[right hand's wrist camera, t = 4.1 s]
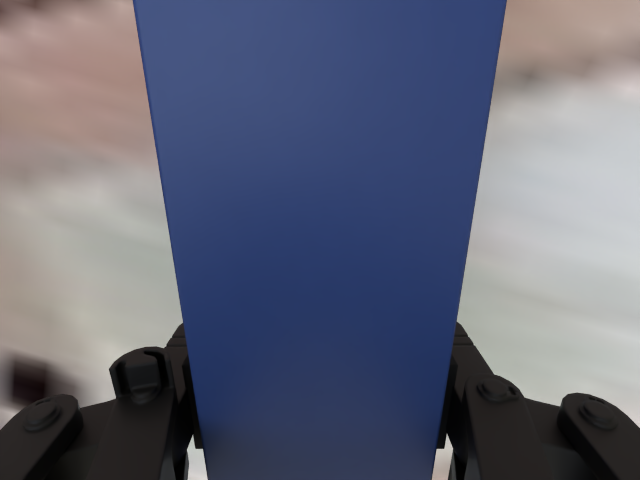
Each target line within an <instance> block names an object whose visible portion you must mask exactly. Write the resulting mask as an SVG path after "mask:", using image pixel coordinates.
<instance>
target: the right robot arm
mask: <svg viewBox="0 0 640 480" xmlns="http://www.w3.org/2000/svg"><path fill="white" fill-rule="evenodd" d="M109 371H110V375H111V379H112V383H113V387H114V391H115V395H116V399H114V400H111V401H107V402H104V403H99V404H95V405H91V406H87V407H82V408H80V407H79V404H78V400H77V399H76V398H74V397H73V396H71V395H65V394H61V395H54V396H49V397H47V398H44V399H41V400H38V401H36V402H34V403H32V404H31V405H29V406H27V407H25V408H24V409H22V410H21V411H20V412H19V413H18V414H16V415H15V416H14V417H13V418H12V419H11V420H10V421H9V422H8V423H7V424H6V425H5V426H4V427H3V428H2V429H1V430H0V480H187V479H188V469H189V460H188V453H187V448H188V445H189V443H190V440H191V438H192V435H193V436H194V442H195V448H196V449H203V445H202V439H201V432H200V426H199V420H198V413H197V407H196V401H195V394H194V388H193V381H192V375H191V369H190V362H189V356H188V350H187V343H186V337H185V330H184V324H183V323H182V324H181V325H179V327H178V328H177V330H176V331H175V333H174V334H173V336H172V338H171V339H170V340H169V342H168V343H167V346H166V347H165V348H160V347H144V348H140V349H136V350H133V351H131V352H129V353H126V354H124V355H123V356H121V357H120V358H119V359H117V360H116V361H115V362H114V363H113V364H112V366H111V367H110V368H109ZM447 434H448V437H449V439H450V442H451V444H452V447H453V453H452V459H451V465H450V470H449V476H448V480H640V428H639V427H638V426H637V425H636V424H635V423H634V422H633V421H632V420H631V419H630V418H629V417H628V416H627V415H626V414H625V413H623V412H622V411H621V410H620V409H619V408H617V407H616V406H614V405H612V404H611V403H609V402H607V401H605V400H603V399H601V398H598V397H595V396H592V395H589V394H583V393H572V394H568V395H566V396H565V397H564V398H563V399H562V403H561V406H560V407H559V406H555V405H551V404H547V403H542V402H538V401H534V400H531V399H527V398H524V396H523V395H522V393H521V391H520V390H519V389H518V388H517V387H516V386H515V385H514V384H513V383H511V382H510V381H508V380H506V379H504V378H502V377H500V376H497V375H494V374H493V372H492V371H491V369H490V368H489V366H488V365H487V363H486V362H485V360H484V359H483V357H482V356H481V354H480V353H479V351H478V350H477V348H476V347H475V346H474V345H473V342H472V341H471V339H470V338H469V337H468V335H467V333H466V332H465V330H464V329H463V327H462V326H461V324H459V323H458V322H457V321H456V327H455V334H454V340H453V347H452V353H451V359H450V366H449V372H448V378H447V385H446V391H445V398H444V404H443V410H442V417H441V423H440V429H439V436H438V442H437V449H444V447H445V441H446V435H447Z"/></svg>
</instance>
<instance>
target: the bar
mask: <svg viewBox="0 0 640 480" xmlns="http://www.w3.org/2000/svg"><path fill="white" fill-rule="evenodd" d="M506 2H507V0H133V5H134V12H135V18H136V24H137V31H138V37H139V44H140V50H141V56H142V63H143V69H144V75H145V82H146V88H147V95H148V101H149V107H150V114H151V120H152V126H153V133H154V139H155V146H156V152H157V158H158V165H159V171H160V177H161V184H162V190H163V197H164V203H165V209H166V216H167V222H168V228H169V235H170V241H171V248H172V254H173V260H174V267H175V273H176V279H177V286H178V292H179V299H180V305H181V311H182V318H183V324H184V330H185V337H186V343H187V350H188V356H189V362H190V369H191V375H192V381H193V388H194V394H195V401H196V407H197V413H198V420H199V426H200V432H201V439H202V445H203V452H204V458H205V464H206V471H207V477H208V480H432V474H433V468H434V461H435V455H436V449H437V442H438V436H439V429H440V423H441V417H442V410H443V404H444V398H445V391H446V385H447V378H448V372H449V366H450V359H451V353H452V347H453V340H454V334H455V327H456V321H457V315H458V308H459V302H460V296H461V289H462V283H463V276H464V270H465V264H466V257H467V251H468V244H469V238H470V232H471V225H472V219H473V213H474V206H475V200H476V193H477V187H478V181H479V174H480V168H481V162H482V155H483V149H484V142H485V136H486V130H487V123H488V117H489V111H490V104H491V98H492V91H493V85H494V79H495V72H496V66H497V60H498V53H499V47H500V40H501V34H502V28H503V21H504V15H505V9H506Z"/></svg>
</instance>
